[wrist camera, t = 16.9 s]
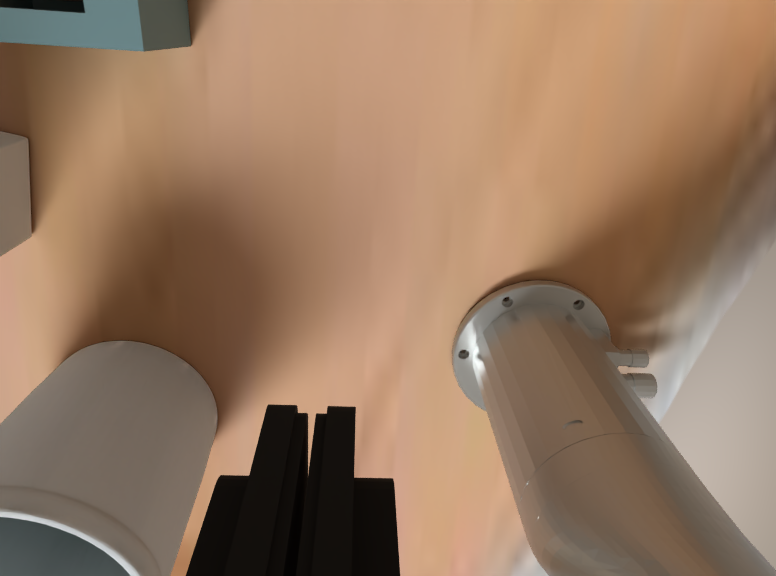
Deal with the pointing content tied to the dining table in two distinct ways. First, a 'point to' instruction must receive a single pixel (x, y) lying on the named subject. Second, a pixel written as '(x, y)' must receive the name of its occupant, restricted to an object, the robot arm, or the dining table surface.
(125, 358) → the utensil holder
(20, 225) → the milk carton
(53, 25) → the cabinet
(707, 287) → the dining table surface
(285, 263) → the dining table surface
